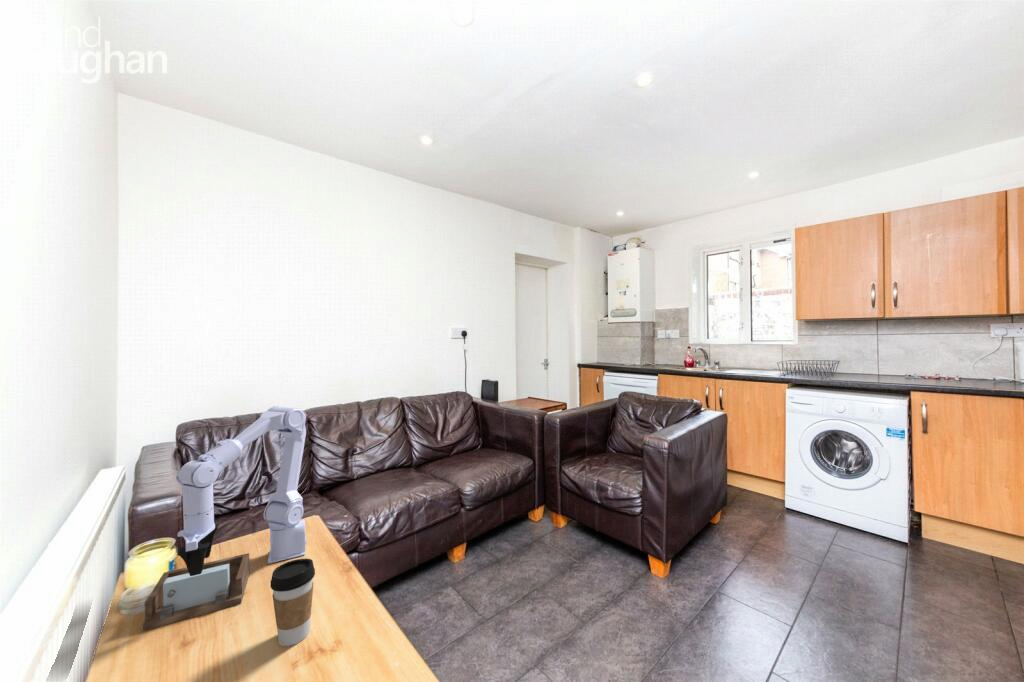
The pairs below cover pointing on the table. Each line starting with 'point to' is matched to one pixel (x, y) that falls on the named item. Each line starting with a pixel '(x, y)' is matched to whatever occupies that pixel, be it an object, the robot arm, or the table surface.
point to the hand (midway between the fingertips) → (200, 565)
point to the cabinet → (166, 615)
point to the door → (196, 587)
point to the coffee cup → (293, 600)
